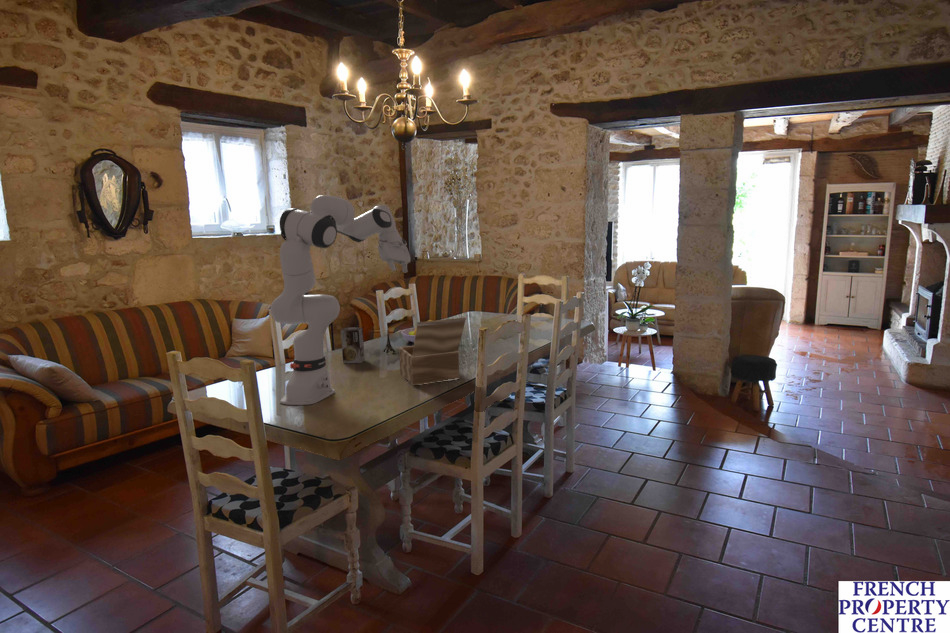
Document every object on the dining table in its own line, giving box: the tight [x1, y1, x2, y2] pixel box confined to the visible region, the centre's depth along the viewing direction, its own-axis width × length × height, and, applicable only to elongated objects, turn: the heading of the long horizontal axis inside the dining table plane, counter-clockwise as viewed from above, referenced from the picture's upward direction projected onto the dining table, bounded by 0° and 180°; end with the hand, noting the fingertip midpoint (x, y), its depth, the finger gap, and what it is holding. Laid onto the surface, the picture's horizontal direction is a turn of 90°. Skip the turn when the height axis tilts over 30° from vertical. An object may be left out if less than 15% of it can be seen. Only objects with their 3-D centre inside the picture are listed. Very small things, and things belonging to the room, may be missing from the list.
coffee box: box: [340, 326, 365, 364], centre depth 273 cm, size 9×6×16 cm
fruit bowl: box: [400, 319, 434, 344], centre depth 313 cm, size 28×27×11 cm
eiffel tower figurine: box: [380, 329, 396, 356], centre depth 290 cm, size 15×10×13 cm
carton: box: [398, 345, 460, 386], centre depth 244 cm, size 20×20×12 cm
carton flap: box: [412, 317, 467, 357], centre depth 228 cm, size 18×19×1 cm
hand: (400, 271), depth 247 cm, fingers open, 8 cm apart
